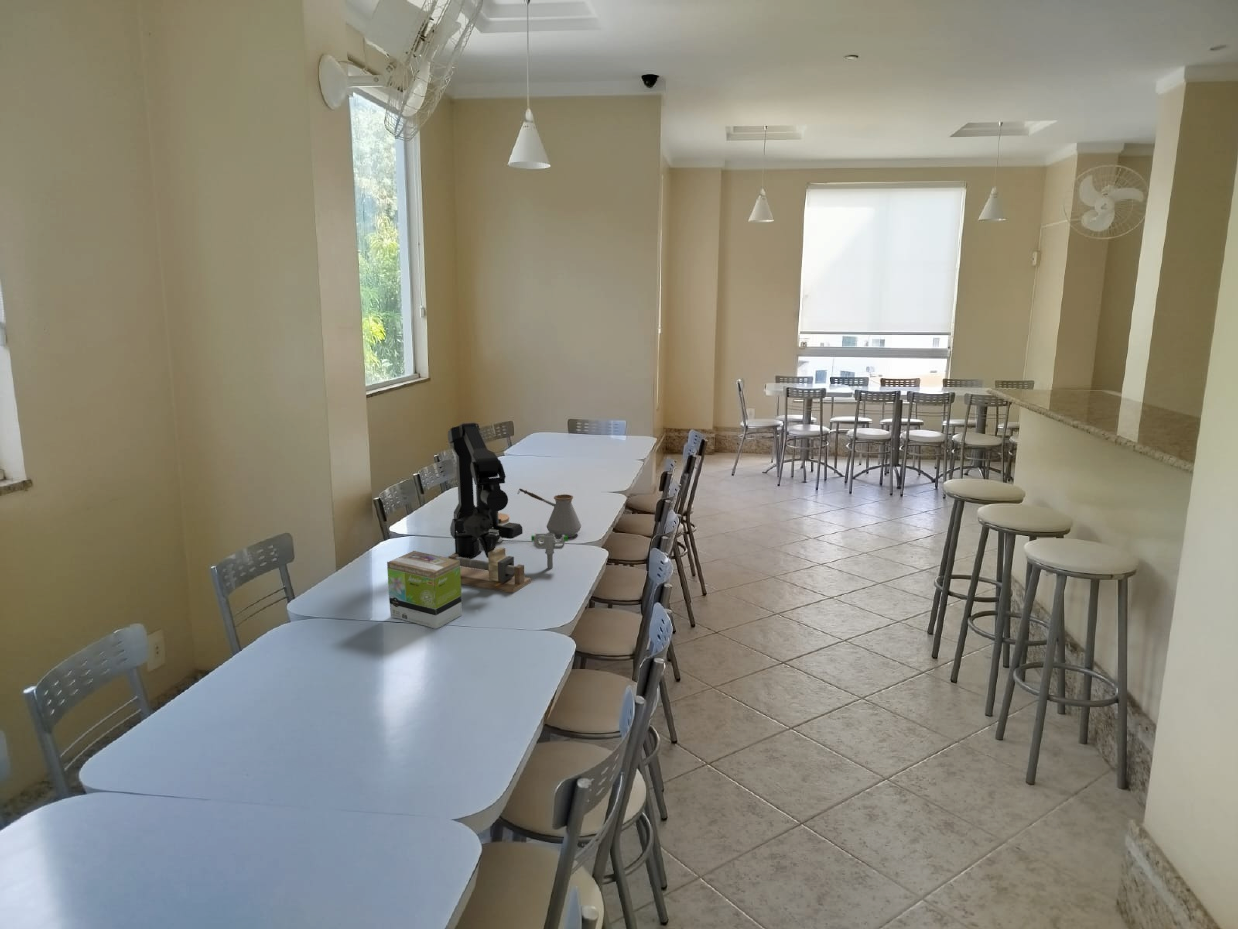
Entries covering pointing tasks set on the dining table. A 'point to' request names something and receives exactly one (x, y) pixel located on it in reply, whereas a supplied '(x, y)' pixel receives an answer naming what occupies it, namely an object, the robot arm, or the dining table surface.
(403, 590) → the tea box
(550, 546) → the mechanical component
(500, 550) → the sleeve
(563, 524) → the coffee pot
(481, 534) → the robot arm
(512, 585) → the pipe stand
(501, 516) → the lidded jar
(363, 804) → the dining table surface
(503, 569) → the gray slab
